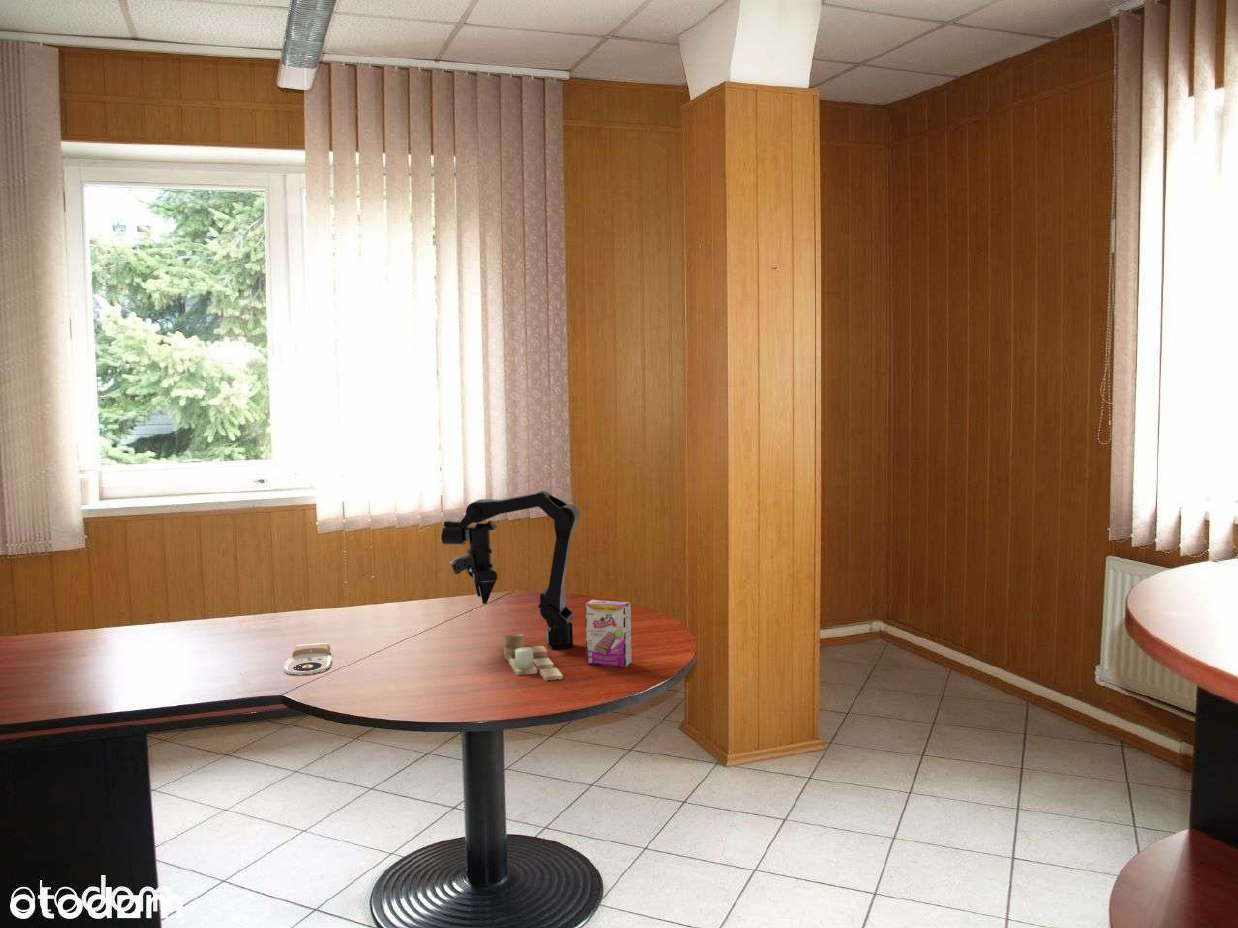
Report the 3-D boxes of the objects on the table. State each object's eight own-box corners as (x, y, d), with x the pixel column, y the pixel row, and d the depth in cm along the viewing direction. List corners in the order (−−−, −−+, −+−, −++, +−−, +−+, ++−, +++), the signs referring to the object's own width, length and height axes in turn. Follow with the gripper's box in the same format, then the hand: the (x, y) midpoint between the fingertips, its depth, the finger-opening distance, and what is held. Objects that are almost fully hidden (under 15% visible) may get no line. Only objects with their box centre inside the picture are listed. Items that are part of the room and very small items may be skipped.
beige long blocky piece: (523, 653, 285) (522, 633, 285) (537, 673, 268) (536, 652, 267) (504, 655, 284) (503, 635, 283) (517, 675, 266) (516, 654, 266)
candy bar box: (585, 665, 274) (584, 603, 272) (592, 659, 278) (590, 598, 277) (626, 668, 270) (624, 605, 268) (632, 662, 275) (631, 601, 273)
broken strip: (543, 654, 284) (543, 645, 284) (562, 678, 262) (562, 669, 262) (527, 655, 283) (527, 647, 283) (545, 680, 261) (545, 671, 261)
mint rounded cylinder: (531, 663, 273) (531, 646, 272) (535, 668, 268) (534, 651, 268) (514, 665, 271) (513, 648, 271) (517, 670, 267) (516, 653, 266)
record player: (334, 642, 291) (327, 664, 271) (334, 653, 291) (328, 675, 272) (290, 645, 289) (280, 667, 269) (290, 656, 289) (281, 679, 270)
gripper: (446, 541, 300) (449, 595, 301) (455, 553, 282) (457, 610, 283) (485, 538, 303) (487, 592, 304) (496, 550, 285) (498, 606, 287)
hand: (482, 600), depth 295 cm, fingers open, 9 cm apart
